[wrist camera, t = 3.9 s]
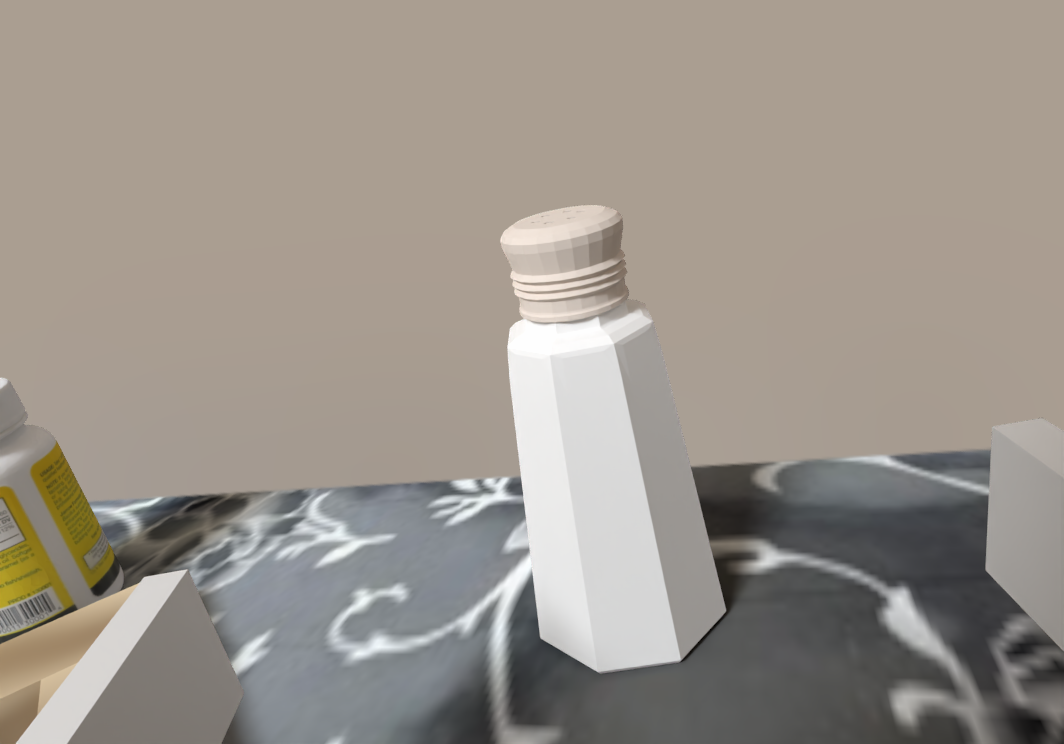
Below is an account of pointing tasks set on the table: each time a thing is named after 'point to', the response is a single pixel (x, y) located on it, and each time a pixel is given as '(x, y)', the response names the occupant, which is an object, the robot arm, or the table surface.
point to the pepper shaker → (602, 454)
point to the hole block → (47, 661)
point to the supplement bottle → (45, 530)
